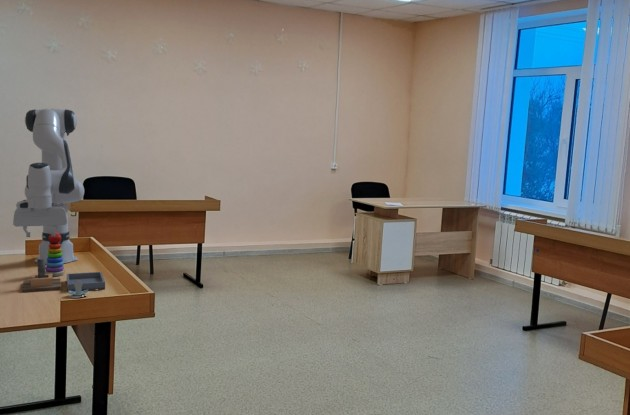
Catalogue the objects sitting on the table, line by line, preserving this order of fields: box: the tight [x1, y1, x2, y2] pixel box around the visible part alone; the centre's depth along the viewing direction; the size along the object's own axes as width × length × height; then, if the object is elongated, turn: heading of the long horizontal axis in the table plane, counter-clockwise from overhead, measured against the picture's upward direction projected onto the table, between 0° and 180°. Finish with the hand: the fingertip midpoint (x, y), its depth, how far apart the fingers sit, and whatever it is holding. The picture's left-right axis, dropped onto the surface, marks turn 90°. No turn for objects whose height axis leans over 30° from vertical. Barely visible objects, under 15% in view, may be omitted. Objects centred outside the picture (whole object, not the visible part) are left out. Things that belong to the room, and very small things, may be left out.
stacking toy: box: [45, 232, 66, 277], centre depth 270 cm, size 8×8×19 cm
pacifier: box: [67, 280, 89, 299], centre depth 240 cm, size 7×6×6 cm
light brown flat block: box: [30, 273, 54, 287], centre depth 254 cm, size 12×8×3 cm, turn 23°
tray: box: [66, 271, 106, 292], centre depth 257 cm, size 18×14×3 cm
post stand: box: [21, 259, 62, 293], centre depth 251 cm, size 14×14×11 cm
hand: (41, 236), depth 255 cm, fingers open, 8 cm apart
